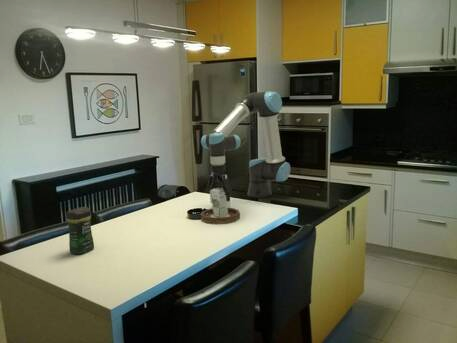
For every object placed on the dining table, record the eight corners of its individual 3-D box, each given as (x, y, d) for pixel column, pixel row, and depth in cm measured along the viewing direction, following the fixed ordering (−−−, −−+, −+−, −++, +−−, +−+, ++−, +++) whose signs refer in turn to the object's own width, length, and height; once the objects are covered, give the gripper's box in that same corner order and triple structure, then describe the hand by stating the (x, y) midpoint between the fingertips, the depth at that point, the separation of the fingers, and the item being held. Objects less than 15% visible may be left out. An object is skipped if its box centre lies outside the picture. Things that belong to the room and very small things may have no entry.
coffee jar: (80, 256, 165) (75, 212, 162) (66, 253, 168) (61, 210, 165) (98, 248, 173) (93, 206, 170) (84, 246, 177) (79, 204, 174)
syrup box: (228, 215, 210) (227, 188, 207) (220, 218, 206) (218, 190, 203) (220, 213, 214) (219, 186, 211) (212, 216, 210) (211, 189, 207)
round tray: (225, 210, 223) (225, 205, 223) (247, 218, 207) (247, 212, 207) (194, 217, 212) (193, 212, 212) (214, 226, 196) (214, 220, 196)
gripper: (199, 162, 213) (201, 201, 217) (225, 167, 193) (227, 210, 196) (211, 160, 217) (213, 199, 221) (238, 165, 197) (240, 207, 201)
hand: (220, 204), depth 209 cm, fingers open, 13 cm apart
